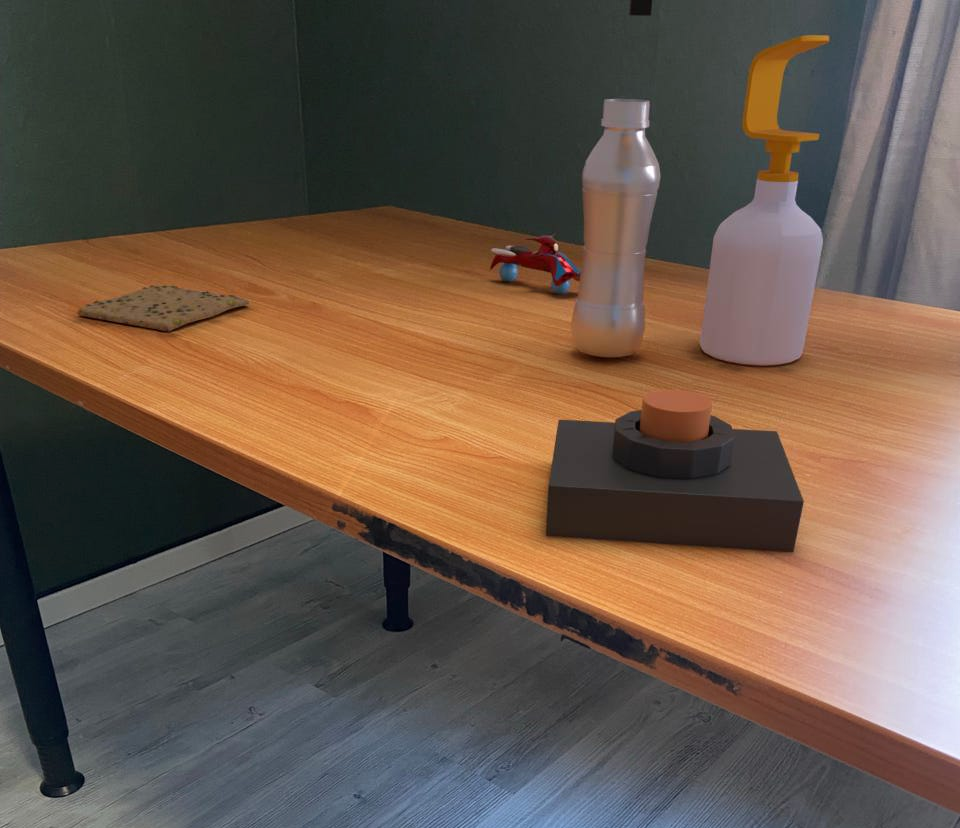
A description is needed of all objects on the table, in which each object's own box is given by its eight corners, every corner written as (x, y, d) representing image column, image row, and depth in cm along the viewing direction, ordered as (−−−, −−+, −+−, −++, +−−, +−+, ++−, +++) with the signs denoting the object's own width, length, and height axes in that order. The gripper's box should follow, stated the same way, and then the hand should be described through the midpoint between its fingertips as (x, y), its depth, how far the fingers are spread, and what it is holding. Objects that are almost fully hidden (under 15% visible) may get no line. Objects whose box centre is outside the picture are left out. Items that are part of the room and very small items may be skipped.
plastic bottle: (619, 342, 92) (641, 97, 82) (656, 362, 87) (684, 103, 76) (556, 348, 90) (570, 97, 79) (590, 369, 85) (610, 104, 74)
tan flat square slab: (74, 315, 97) (72, 304, 96) (162, 290, 106) (161, 281, 106) (168, 332, 92) (166, 321, 92) (251, 304, 101) (250, 295, 101)
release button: (705, 424, 60) (709, 390, 59) (710, 447, 57) (715, 413, 56) (638, 420, 61) (642, 387, 59) (639, 444, 57) (643, 409, 56)
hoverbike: (561, 301, 105) (564, 245, 102) (481, 282, 112) (482, 229, 109) (592, 293, 108) (596, 239, 105) (512, 275, 115) (514, 224, 112)
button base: (769, 477, 65) (782, 403, 62) (793, 553, 56) (810, 469, 53) (555, 465, 66) (560, 391, 64) (545, 536, 57) (550, 454, 55)
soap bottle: (760, 373, 84) (816, 36, 71) (678, 349, 90) (716, 33, 77) (822, 355, 89) (885, 36, 76) (740, 333, 95) (786, 34, 82)
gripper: (568, -470, 57) (548, 14, 70) (798, -475, 56) (736, 16, 69) (570, -421, 64) (552, 14, 76) (777, -425, 63) (724, 16, 75)
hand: (639, 15), depth 72 cm, fingers closed
